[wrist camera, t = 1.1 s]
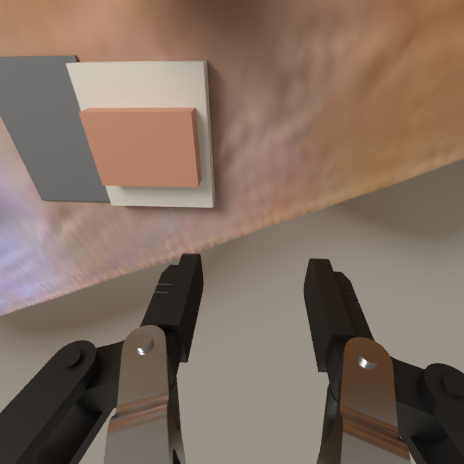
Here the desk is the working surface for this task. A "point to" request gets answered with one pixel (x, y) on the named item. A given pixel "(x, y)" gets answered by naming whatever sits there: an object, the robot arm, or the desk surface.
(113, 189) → the desk riser
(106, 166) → the terracotta notepad
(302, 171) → the desk surface
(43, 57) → the rubber mat
